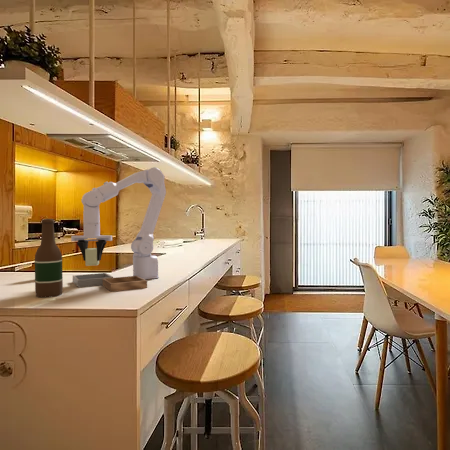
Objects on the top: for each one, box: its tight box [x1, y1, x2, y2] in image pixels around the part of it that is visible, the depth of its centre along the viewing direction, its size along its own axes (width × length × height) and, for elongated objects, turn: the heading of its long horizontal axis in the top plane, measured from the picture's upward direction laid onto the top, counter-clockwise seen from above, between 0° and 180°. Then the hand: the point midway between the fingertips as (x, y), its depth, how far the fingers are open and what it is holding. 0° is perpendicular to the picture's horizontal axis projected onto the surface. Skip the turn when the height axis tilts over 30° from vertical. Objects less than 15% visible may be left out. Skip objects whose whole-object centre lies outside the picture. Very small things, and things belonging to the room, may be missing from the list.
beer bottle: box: [34, 218, 64, 299], centre depth 116 cm, size 8×8×24 cm
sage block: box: [84, 247, 100, 267], centre depth 137 cm, size 4×4×6 cm
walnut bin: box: [102, 275, 148, 292], centre depth 129 cm, size 12×12×2 cm
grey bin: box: [72, 272, 114, 288], centre depth 137 cm, size 12×12×2 cm
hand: (92, 260), depth 137 cm, fingers closed on sage block, 4 cm apart
